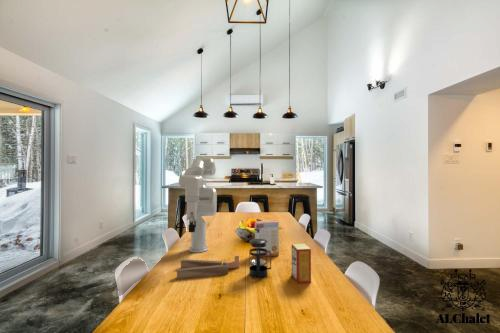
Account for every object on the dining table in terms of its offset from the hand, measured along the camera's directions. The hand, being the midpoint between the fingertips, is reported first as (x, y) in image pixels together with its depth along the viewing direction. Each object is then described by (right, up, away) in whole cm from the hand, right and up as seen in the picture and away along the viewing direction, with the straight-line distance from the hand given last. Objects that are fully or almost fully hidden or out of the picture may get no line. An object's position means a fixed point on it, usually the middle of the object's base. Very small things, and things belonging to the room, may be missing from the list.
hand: (192, 229), depth 143 cm
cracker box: (+42, -20, +17) cm, 50 cm away
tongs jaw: (+6, -19, -5) cm, 21 cm away
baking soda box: (+56, -20, -17) cm, 62 cm away
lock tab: (+22, -19, -3) cm, 30 cm away
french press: (+36, -20, -12) cm, 43 cm away
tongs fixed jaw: (+8, -20, -12) cm, 25 cm away
